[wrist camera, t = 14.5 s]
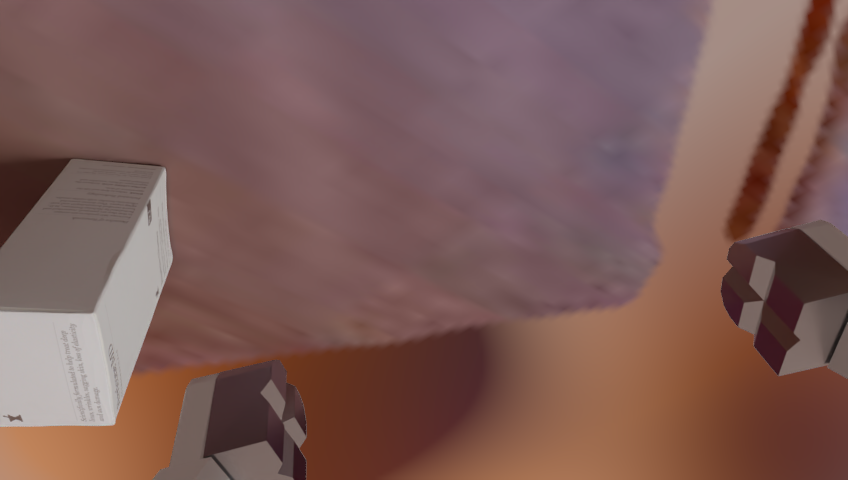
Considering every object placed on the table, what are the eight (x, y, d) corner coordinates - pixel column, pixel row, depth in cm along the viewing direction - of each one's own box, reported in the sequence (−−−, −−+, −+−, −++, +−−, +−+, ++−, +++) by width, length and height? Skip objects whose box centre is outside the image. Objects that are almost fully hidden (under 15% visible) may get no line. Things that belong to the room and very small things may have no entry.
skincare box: (174, 258, 41) (124, 432, 30) (83, 255, 40) (-8, 436, 28) (165, 158, 36) (102, 317, 25) (62, 150, 35) (-59, 315, 23)
